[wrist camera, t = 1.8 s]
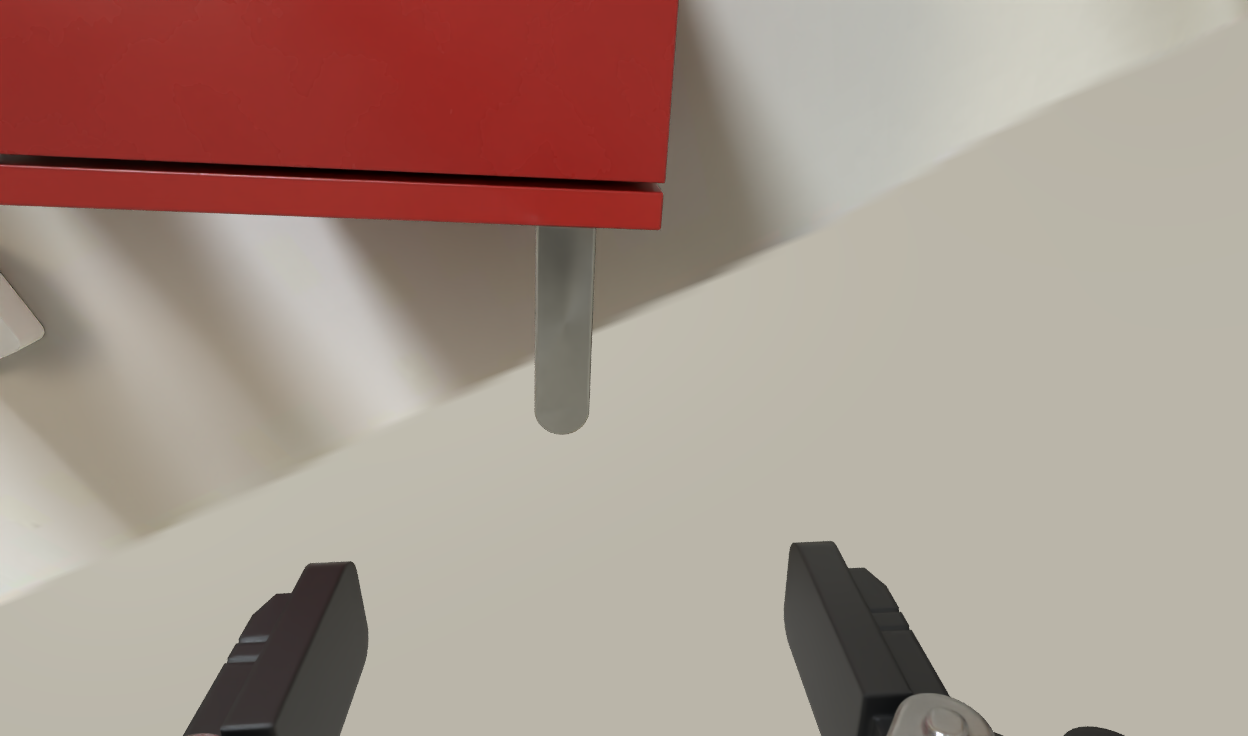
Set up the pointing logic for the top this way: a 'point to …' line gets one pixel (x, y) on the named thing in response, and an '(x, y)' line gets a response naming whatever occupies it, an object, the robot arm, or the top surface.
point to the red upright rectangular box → (345, 84)
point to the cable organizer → (16, 321)
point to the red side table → (548, 203)
